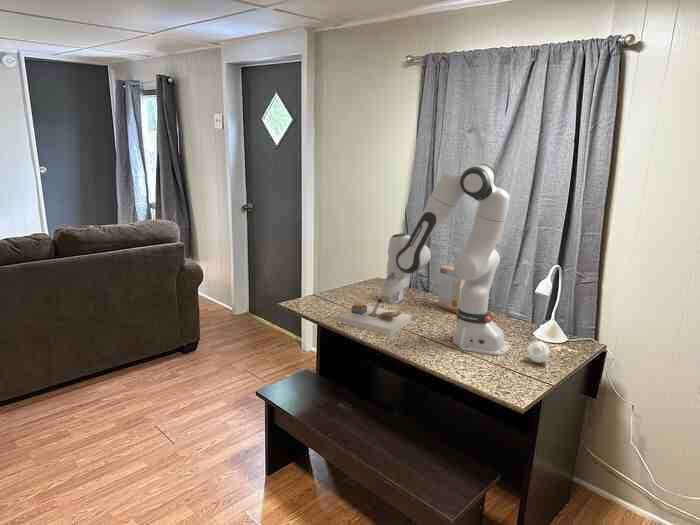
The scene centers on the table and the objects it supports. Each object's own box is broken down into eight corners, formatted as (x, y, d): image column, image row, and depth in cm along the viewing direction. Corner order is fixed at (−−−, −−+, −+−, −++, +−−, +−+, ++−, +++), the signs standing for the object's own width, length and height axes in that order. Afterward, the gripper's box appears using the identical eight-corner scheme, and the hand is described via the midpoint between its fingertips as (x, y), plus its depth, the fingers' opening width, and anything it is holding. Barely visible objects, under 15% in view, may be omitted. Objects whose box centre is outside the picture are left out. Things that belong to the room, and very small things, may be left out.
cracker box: (466, 312, 231) (470, 270, 226) (458, 315, 228) (461, 272, 223) (445, 304, 243) (448, 264, 237) (437, 306, 239) (440, 265, 234)
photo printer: (396, 297, 251) (397, 275, 247) (403, 299, 248) (405, 276, 245) (387, 303, 242) (388, 279, 239) (395, 305, 240) (396, 281, 237)
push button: (364, 307, 221) (364, 303, 220) (360, 309, 218) (360, 305, 217) (358, 305, 222) (358, 301, 222) (354, 307, 220) (354, 303, 219)
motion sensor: (523, 361, 181) (525, 342, 180) (530, 355, 187) (532, 336, 185) (544, 368, 177) (547, 348, 175) (551, 361, 182) (554, 342, 180)
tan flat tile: (401, 313, 212) (400, 311, 212) (396, 317, 208) (395, 314, 208) (383, 314, 217) (382, 312, 217) (378, 317, 213) (377, 315, 213)
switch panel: (410, 321, 219) (411, 309, 217) (390, 336, 202) (391, 322, 201) (361, 310, 232) (361, 298, 230) (339, 322, 215) (339, 310, 214)
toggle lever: (376, 313, 217) (383, 299, 213) (374, 314, 215) (381, 301, 212) (372, 311, 218) (380, 297, 214) (370, 312, 216) (377, 298, 213)
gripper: (392, 277, 195) (390, 309, 199) (413, 266, 212) (411, 296, 216) (379, 274, 199) (377, 306, 202) (400, 264, 215) (398, 293, 219)
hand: (395, 301), depth 209 cm, fingers closed
